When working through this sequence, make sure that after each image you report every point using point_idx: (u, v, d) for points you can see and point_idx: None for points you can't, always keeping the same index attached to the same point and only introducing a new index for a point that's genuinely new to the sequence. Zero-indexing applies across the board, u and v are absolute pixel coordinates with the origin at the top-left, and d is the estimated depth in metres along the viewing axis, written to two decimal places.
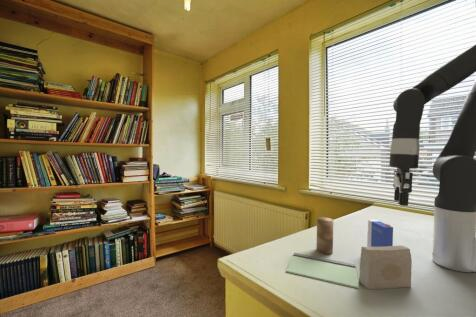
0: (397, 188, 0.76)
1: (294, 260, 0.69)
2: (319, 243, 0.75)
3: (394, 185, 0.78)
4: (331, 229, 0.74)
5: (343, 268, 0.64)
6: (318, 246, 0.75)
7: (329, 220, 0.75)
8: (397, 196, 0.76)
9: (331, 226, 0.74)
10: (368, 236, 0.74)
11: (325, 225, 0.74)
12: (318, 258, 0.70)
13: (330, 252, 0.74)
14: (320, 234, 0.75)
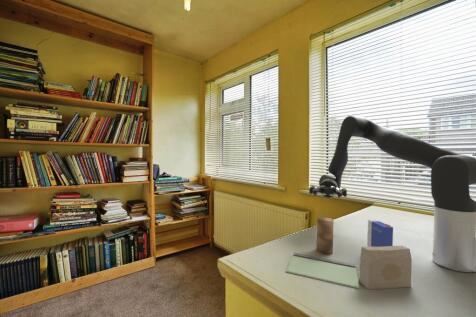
0: (338, 194, 0.89)
1: (294, 260, 0.69)
2: (319, 243, 0.75)
3: None
4: (331, 229, 0.74)
5: (343, 268, 0.64)
6: (318, 246, 0.75)
7: (329, 220, 0.75)
8: None
9: (331, 226, 0.74)
10: (368, 236, 0.74)
11: (325, 225, 0.74)
12: (318, 258, 0.70)
13: (330, 252, 0.74)
14: (320, 234, 0.75)
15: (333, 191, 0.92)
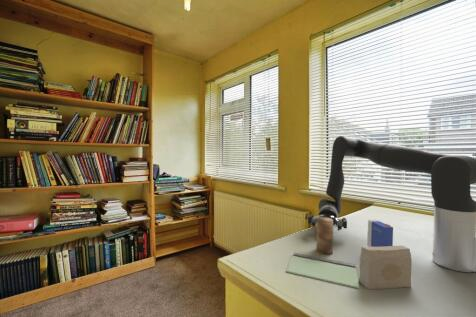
0: (338, 225, 0.85)
1: (294, 260, 0.69)
2: (319, 243, 0.75)
3: None
4: (331, 229, 0.74)
5: (343, 268, 0.64)
6: (318, 246, 0.75)
7: (329, 220, 0.75)
8: None
9: (331, 226, 0.74)
10: (368, 236, 0.74)
11: (325, 225, 0.74)
12: (318, 258, 0.70)
13: (330, 252, 0.74)
14: (319, 234, 0.75)
15: (333, 221, 0.88)
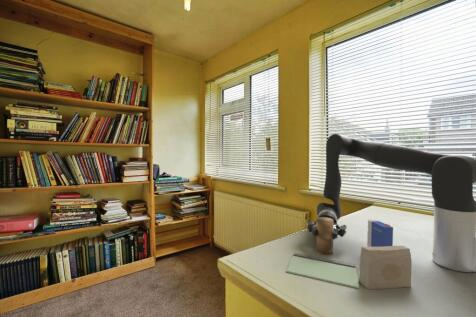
0: None
1: (294, 260, 0.69)
2: (320, 243, 0.75)
3: None
4: (331, 229, 0.74)
5: (343, 268, 0.64)
6: (318, 246, 0.75)
7: (329, 220, 0.75)
8: None
9: (331, 226, 0.74)
10: (368, 236, 0.74)
11: (325, 225, 0.74)
12: (318, 258, 0.70)
13: (330, 252, 0.74)
14: (320, 234, 0.75)
15: None
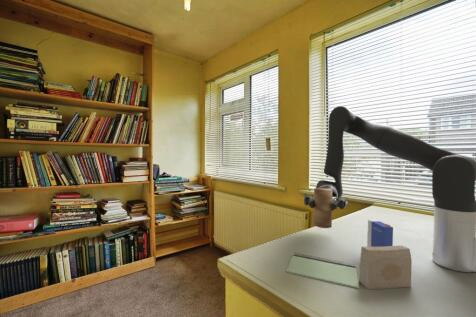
0: None
1: (294, 260, 0.69)
2: (317, 215, 0.67)
3: None
4: (330, 199, 0.66)
5: (343, 268, 0.64)
6: (315, 219, 0.67)
7: (328, 190, 0.67)
8: None
9: (330, 196, 0.66)
10: (368, 236, 0.74)
11: (323, 194, 0.66)
12: (318, 258, 0.70)
13: (329, 225, 0.66)
14: (317, 205, 0.67)
15: None
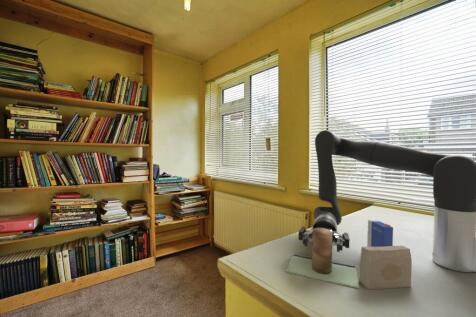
0: None
1: (294, 260, 0.69)
2: (316, 260, 0.62)
3: None
4: (330, 243, 0.61)
5: (343, 268, 0.64)
6: (314, 263, 0.63)
7: (327, 232, 0.62)
8: None
9: (330, 240, 0.61)
10: (368, 236, 0.74)
11: (322, 238, 0.61)
12: None
13: (328, 271, 0.61)
14: (316, 249, 0.62)
15: None
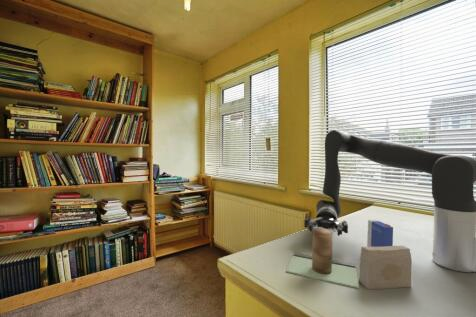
0: (338, 229, 0.76)
1: (294, 260, 0.69)
2: (316, 260, 0.62)
3: None
4: (330, 243, 0.61)
5: (343, 268, 0.64)
6: (314, 263, 0.63)
7: (327, 232, 0.62)
8: (337, 231, 0.73)
9: (330, 240, 0.61)
10: (368, 236, 0.74)
11: (322, 238, 0.61)
12: None
13: (328, 271, 0.61)
14: (316, 249, 0.62)
15: (332, 225, 0.79)
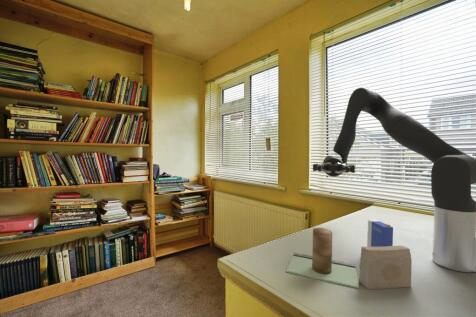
0: None
1: (294, 260, 0.69)
2: (316, 260, 0.62)
3: None
4: (330, 243, 0.61)
5: (343, 268, 0.64)
6: (314, 263, 0.63)
7: (327, 232, 0.62)
8: None
9: (330, 240, 0.61)
10: (368, 236, 0.74)
11: (322, 238, 0.61)
12: None
13: (328, 271, 0.61)
14: (316, 249, 0.62)
15: (339, 168, 0.83)
